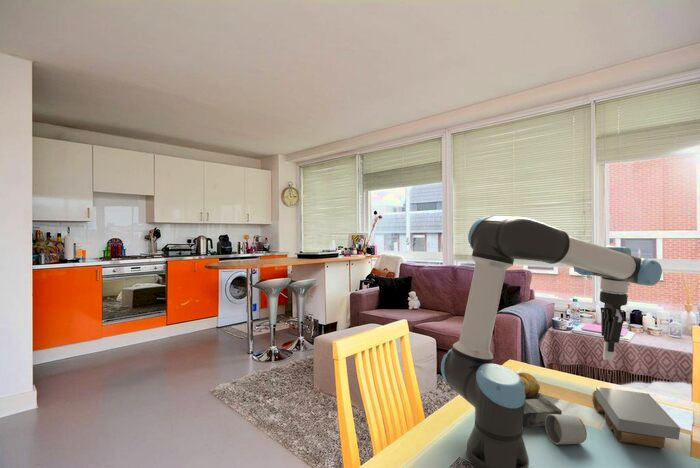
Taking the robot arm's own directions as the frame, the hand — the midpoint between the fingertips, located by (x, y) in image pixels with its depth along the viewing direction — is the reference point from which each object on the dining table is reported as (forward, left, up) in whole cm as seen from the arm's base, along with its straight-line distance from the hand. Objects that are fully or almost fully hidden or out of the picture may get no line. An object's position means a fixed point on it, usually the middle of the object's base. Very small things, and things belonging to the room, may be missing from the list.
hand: (608, 359), depth 122 cm
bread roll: (-26, -1, -16) cm, 31 cm away
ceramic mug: (-21, -26, -16) cm, 37 cm away
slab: (0, -18, -10) cm, 21 cm away
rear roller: (0, -3, -15) cm, 15 cm away
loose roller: (0, -22, -16) cm, 27 cm away
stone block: (-27, -18, -16) cm, 36 cm away
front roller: (0, -13, -12) cm, 18 cm away
